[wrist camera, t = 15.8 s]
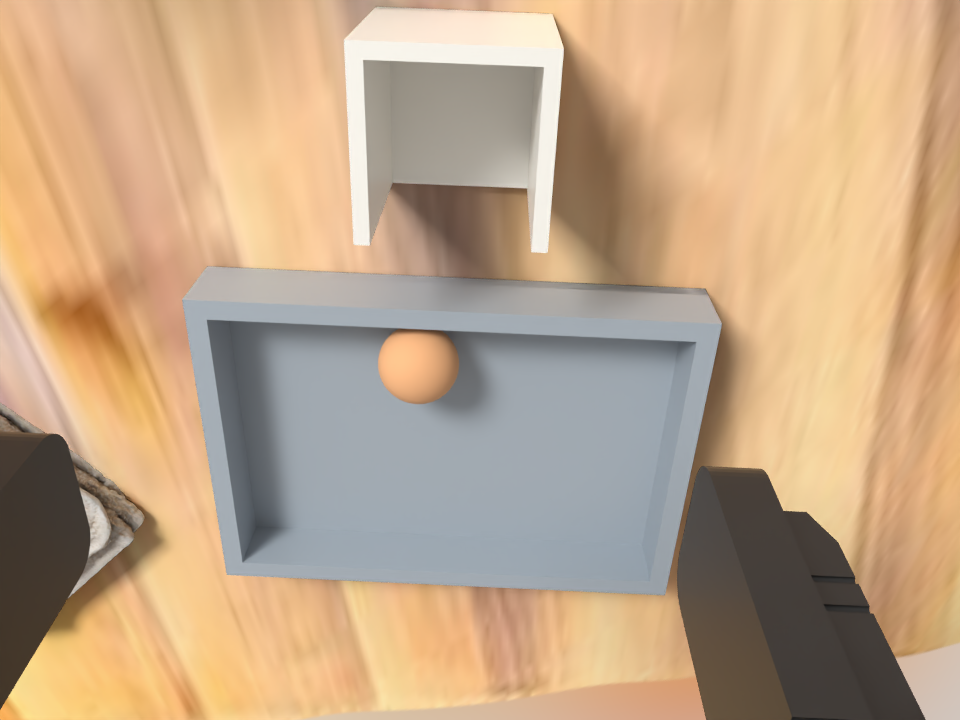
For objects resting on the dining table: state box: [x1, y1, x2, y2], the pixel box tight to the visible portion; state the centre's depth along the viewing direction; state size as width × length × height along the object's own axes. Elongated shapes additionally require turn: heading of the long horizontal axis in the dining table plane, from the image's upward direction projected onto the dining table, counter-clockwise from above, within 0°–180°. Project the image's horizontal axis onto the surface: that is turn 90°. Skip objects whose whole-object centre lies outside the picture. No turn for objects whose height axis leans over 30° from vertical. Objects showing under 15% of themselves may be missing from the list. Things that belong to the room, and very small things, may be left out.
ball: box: [378, 328, 459, 404], centre depth 33 cm, size 3×3×3 cm
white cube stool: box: [344, 7, 564, 253], centre depth 27 cm, size 6×6×6 cm
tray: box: [182, 266, 722, 595], centre depth 35 cm, size 20×14×3 cm
